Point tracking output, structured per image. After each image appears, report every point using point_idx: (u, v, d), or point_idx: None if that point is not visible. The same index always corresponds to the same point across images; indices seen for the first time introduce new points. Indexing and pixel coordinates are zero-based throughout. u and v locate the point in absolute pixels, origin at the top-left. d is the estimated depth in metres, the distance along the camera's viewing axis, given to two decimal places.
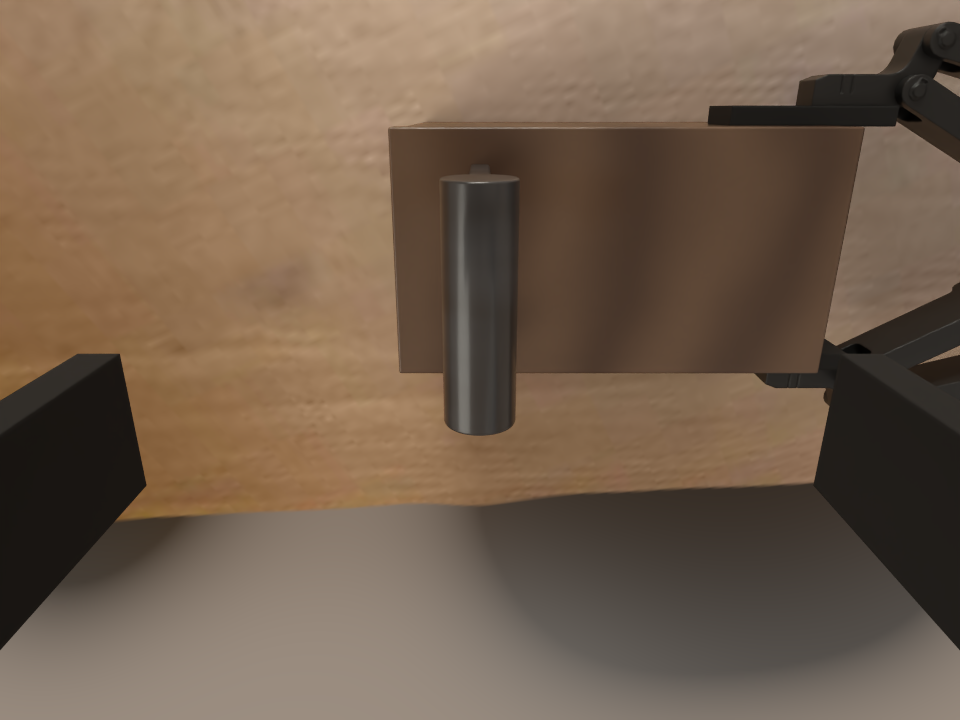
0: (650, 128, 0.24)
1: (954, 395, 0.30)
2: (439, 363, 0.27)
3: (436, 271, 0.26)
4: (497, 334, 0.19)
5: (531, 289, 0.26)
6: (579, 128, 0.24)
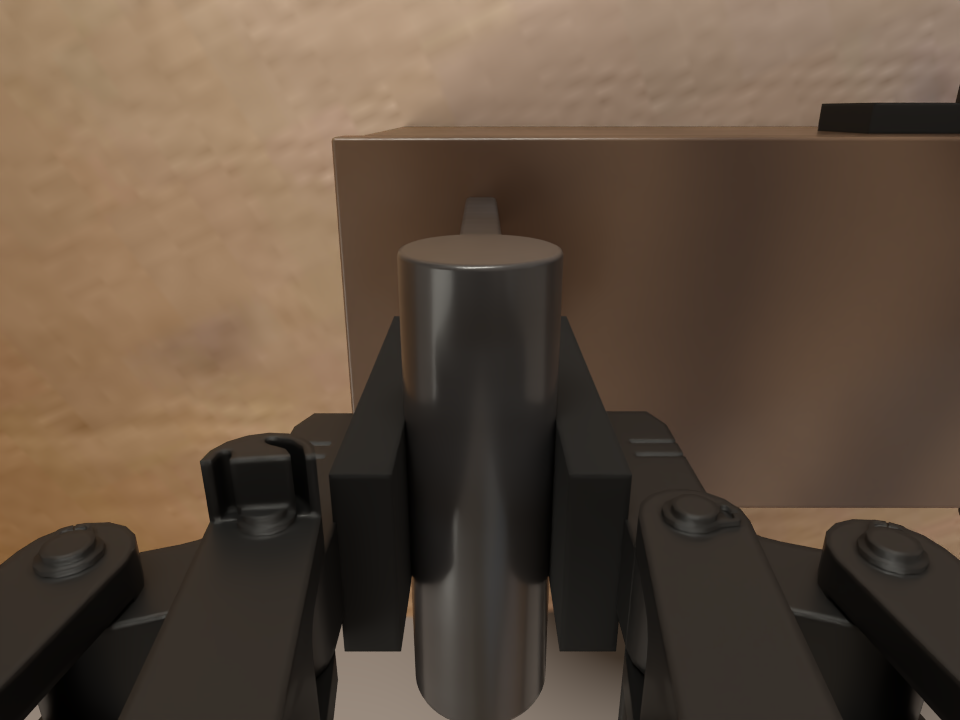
0: (758, 139, 0.15)
1: None
2: None
3: None
4: (515, 556, 0.09)
5: None
6: (642, 139, 0.15)
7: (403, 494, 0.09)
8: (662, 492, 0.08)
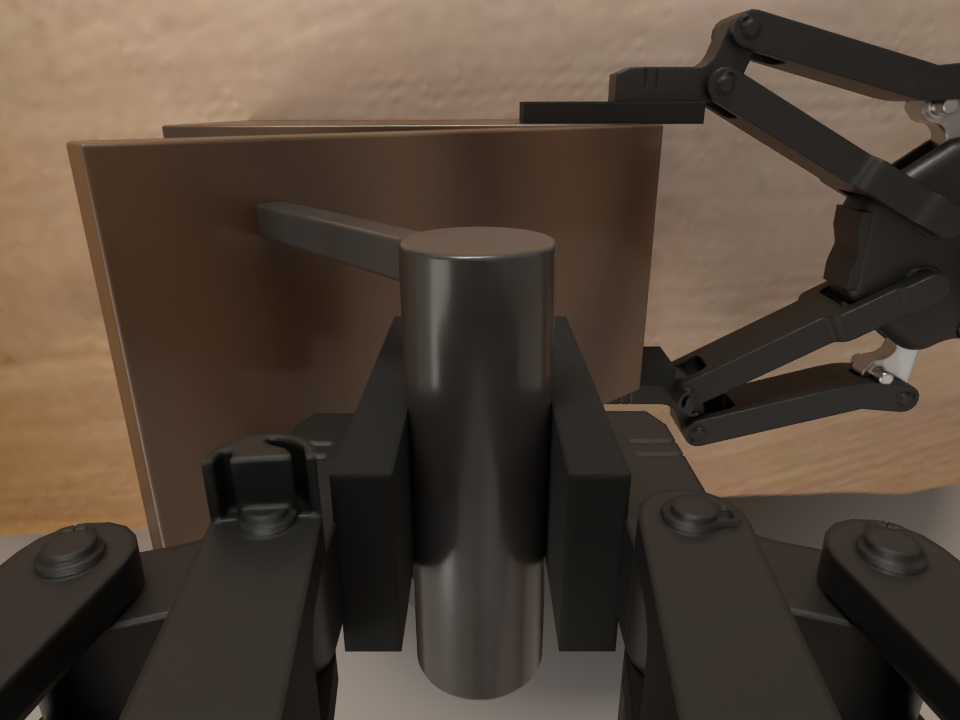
0: (487, 132, 0.17)
1: (796, 412, 0.28)
2: None
3: (216, 397, 0.14)
4: (544, 513, 0.10)
5: None
6: (406, 134, 0.16)
7: (403, 494, 0.09)
8: (661, 492, 0.08)
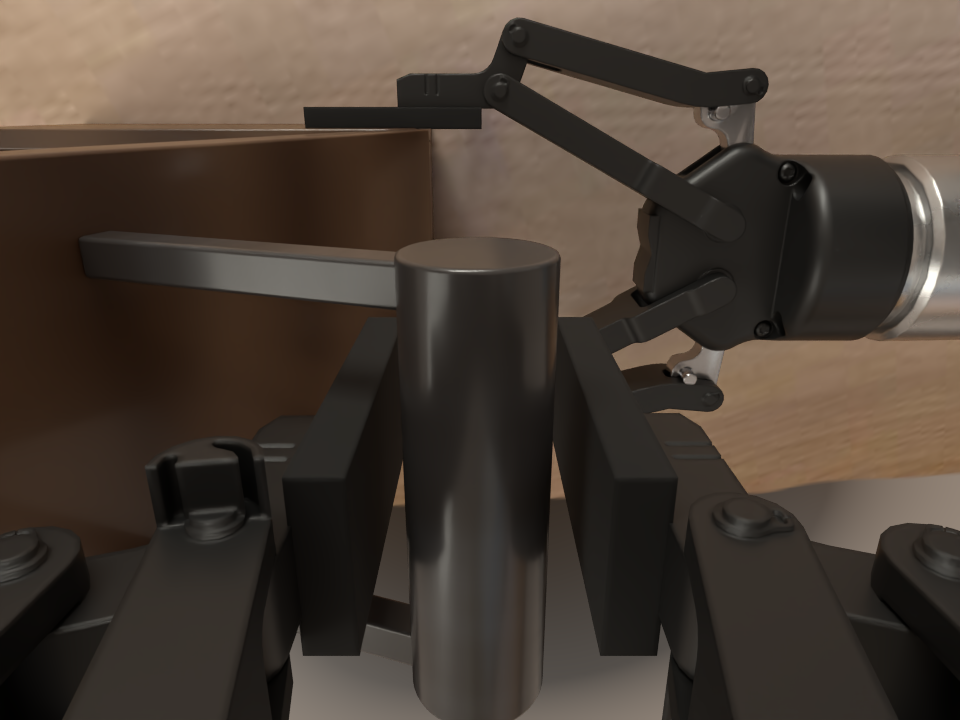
0: (298, 139, 0.16)
1: None
2: None
3: (54, 496, 0.11)
4: None
5: None
6: (226, 144, 0.14)
7: (363, 497, 0.09)
8: (712, 495, 0.08)
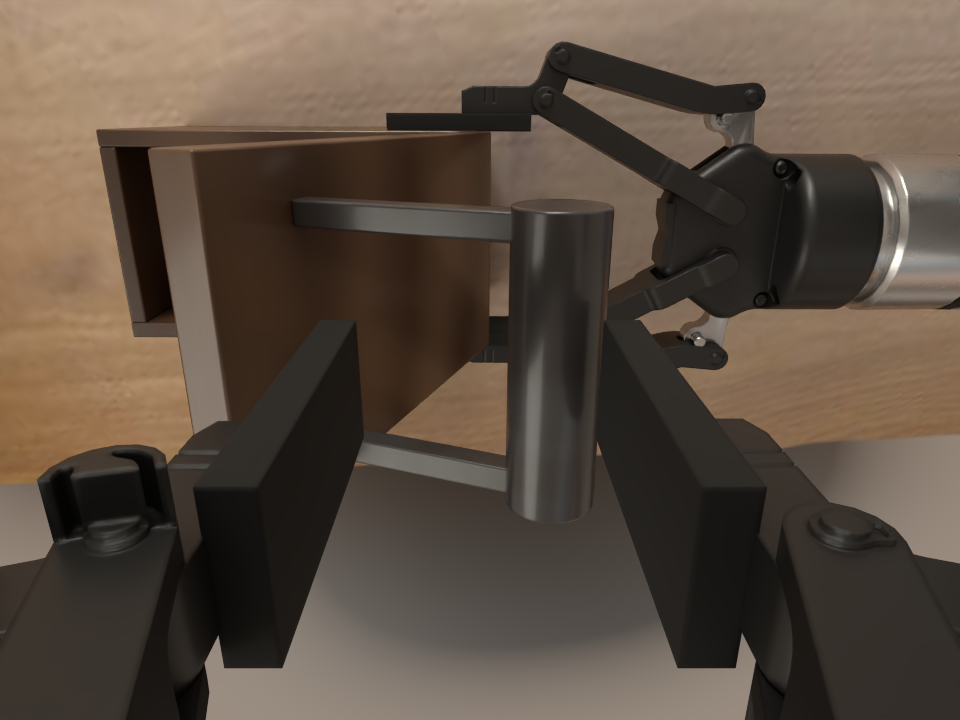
0: (407, 137, 0.22)
1: None
2: None
3: (271, 370, 0.16)
4: None
5: None
6: (367, 140, 0.19)
7: (289, 506, 0.09)
8: (807, 504, 0.08)
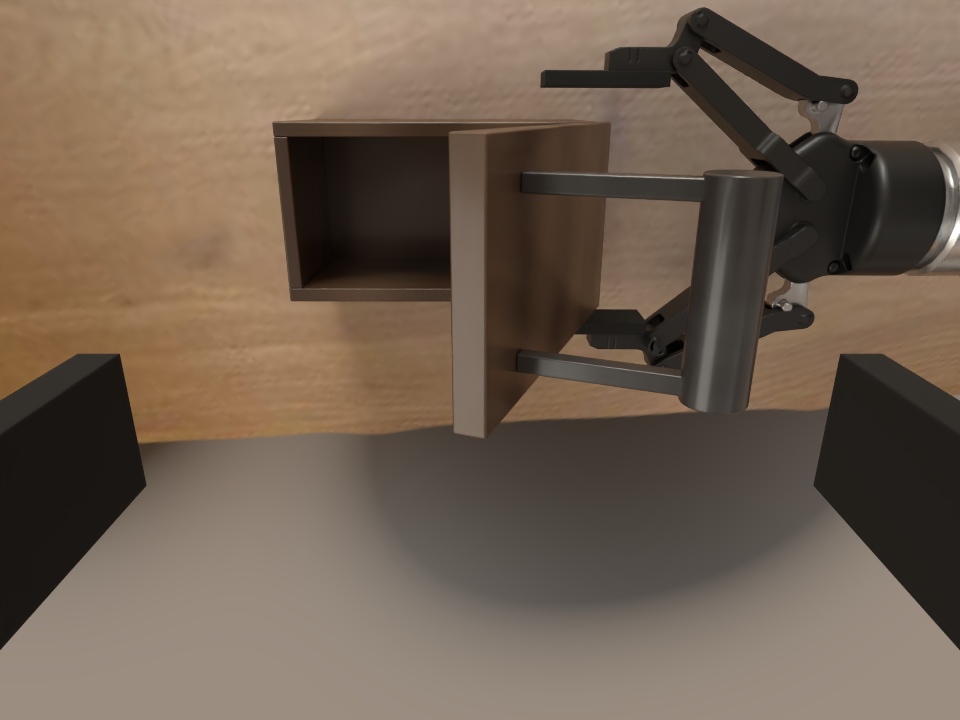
0: (571, 126, 0.27)
1: None
2: (503, 408, 0.23)
3: (504, 302, 0.22)
4: None
5: (537, 295, 0.25)
6: (553, 128, 0.24)
7: None
8: None
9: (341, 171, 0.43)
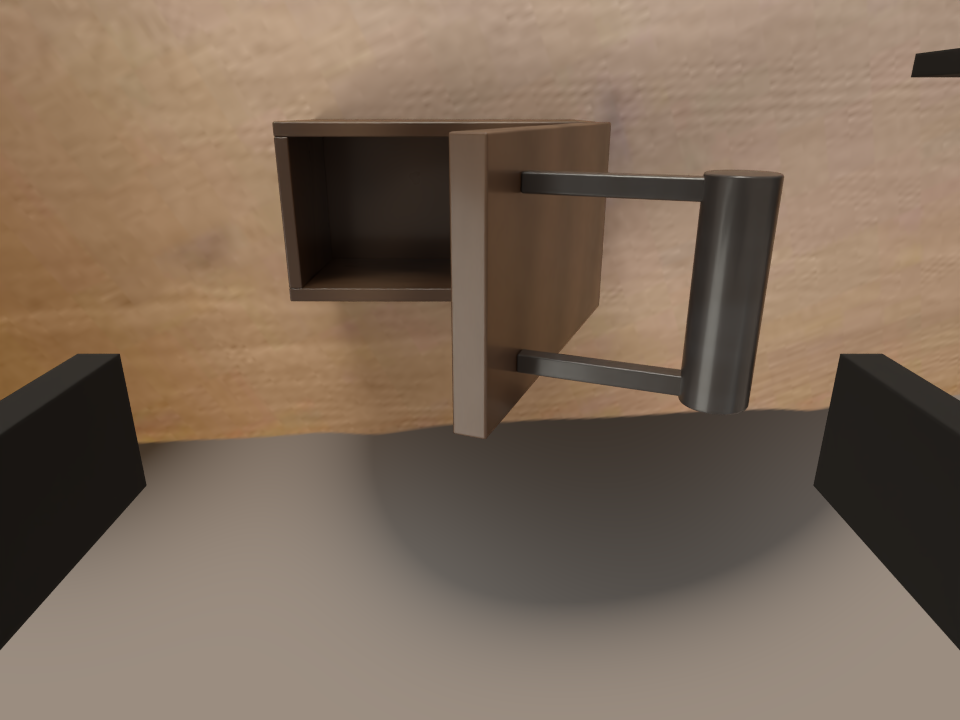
0: (571, 126, 0.27)
1: None
2: (503, 408, 0.23)
3: (504, 302, 0.22)
4: None
5: (537, 295, 0.25)
6: (553, 128, 0.24)
7: None
8: None
9: (341, 171, 0.43)
